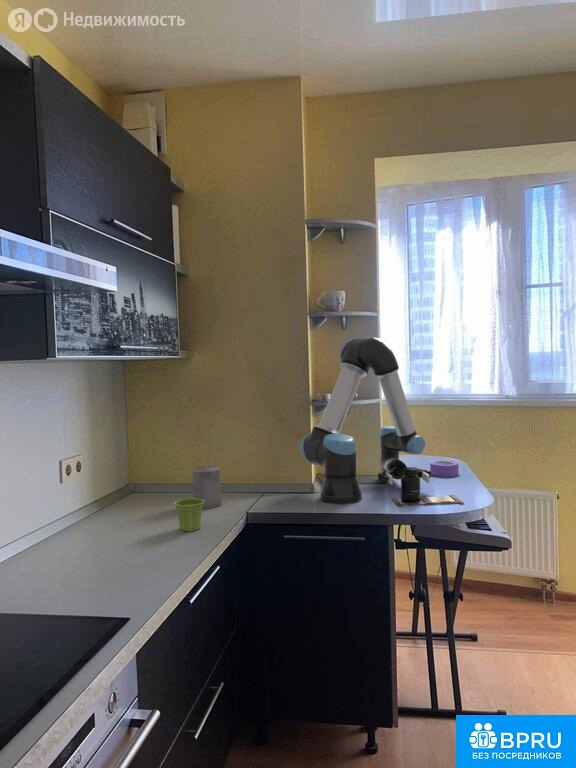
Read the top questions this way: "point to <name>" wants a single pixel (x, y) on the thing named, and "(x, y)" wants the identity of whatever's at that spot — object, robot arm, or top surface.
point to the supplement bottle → (410, 486)
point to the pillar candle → (207, 485)
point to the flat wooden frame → (431, 501)
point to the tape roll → (444, 468)
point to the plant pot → (189, 513)
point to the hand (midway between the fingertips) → (410, 480)
